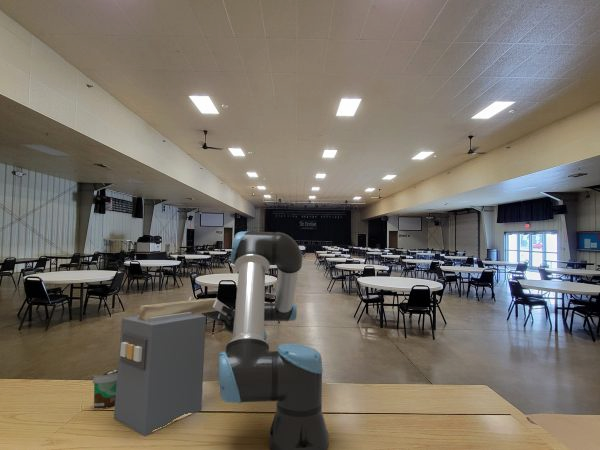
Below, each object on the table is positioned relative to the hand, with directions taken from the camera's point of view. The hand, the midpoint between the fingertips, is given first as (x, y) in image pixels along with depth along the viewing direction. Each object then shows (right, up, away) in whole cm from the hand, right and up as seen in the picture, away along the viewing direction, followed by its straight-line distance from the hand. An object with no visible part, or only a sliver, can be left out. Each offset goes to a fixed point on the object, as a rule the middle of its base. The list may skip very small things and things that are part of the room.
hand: (201, 301), depth 108 cm
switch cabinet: (-8, -30, -15) cm, 34 cm away
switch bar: (-4, -3, -7) cm, 8 cm away
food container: (-25, -30, -8) cm, 40 cm away
